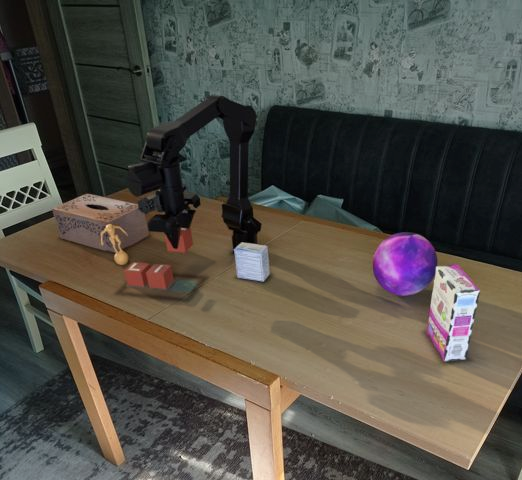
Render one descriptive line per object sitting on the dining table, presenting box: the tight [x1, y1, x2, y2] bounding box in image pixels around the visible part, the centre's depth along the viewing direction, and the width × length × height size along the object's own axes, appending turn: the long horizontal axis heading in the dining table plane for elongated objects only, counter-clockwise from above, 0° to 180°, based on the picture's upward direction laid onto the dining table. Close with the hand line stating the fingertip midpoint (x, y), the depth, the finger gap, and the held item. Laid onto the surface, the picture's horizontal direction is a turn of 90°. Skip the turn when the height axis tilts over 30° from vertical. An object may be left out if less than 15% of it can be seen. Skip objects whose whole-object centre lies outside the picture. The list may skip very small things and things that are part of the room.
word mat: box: [125, 278, 199, 294], centre depth 143 cm, size 20×12×1 cm, turn 73°
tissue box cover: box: [51, 193, 150, 254], centre depth 169 cm, size 26×14×10 cm, turn 56°
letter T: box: [164, 227, 194, 253], centre depth 136 cm, size 5×5×5 cm
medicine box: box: [233, 242, 271, 283], centre depth 141 cm, size 8×4×9 cm, turn 65°
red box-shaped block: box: [146, 263, 175, 289], centre depth 141 cm, size 5×5×5 cm
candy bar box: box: [426, 264, 481, 362], centre depth 108 cm, size 11×5×16 cm, turn 5°
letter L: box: [123, 261, 151, 287], centre depth 143 cm, size 5×5×5 cm
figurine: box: [101, 224, 130, 266], centre depth 152 cm, size 8×6×12 cm
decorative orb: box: [372, 231, 439, 297], centre depth 128 cm, size 15×15×15 cm
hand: (180, 244), depth 137 cm, fingers closed on letter T, 5 cm apart
